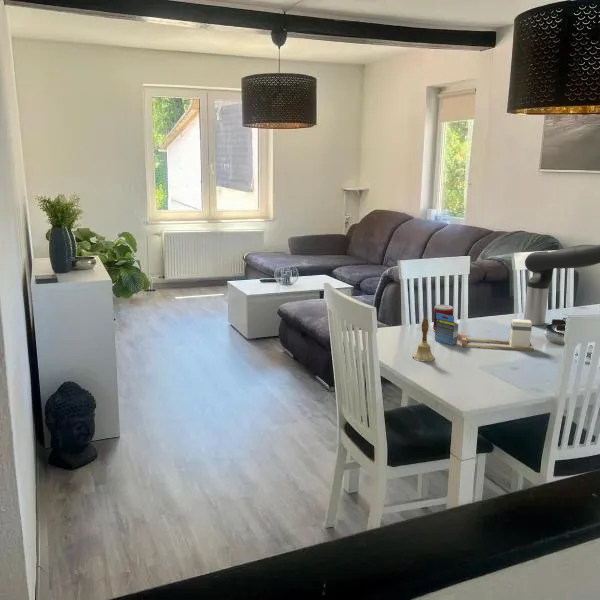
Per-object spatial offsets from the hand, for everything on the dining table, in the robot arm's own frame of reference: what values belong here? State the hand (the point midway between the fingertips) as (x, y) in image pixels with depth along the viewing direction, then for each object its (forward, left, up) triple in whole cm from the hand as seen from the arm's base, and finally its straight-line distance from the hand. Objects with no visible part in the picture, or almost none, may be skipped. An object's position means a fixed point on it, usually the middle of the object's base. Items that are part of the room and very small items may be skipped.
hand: (554, 324), depth 238 cm
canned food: (-16, -42, -10) cm, 47 cm away
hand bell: (+22, -50, -10) cm, 56 cm away
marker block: (0, -12, -10) cm, 16 cm away
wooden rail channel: (0, -20, -10) cm, 23 cm away
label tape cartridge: (0, -41, -11) cm, 43 cm away
